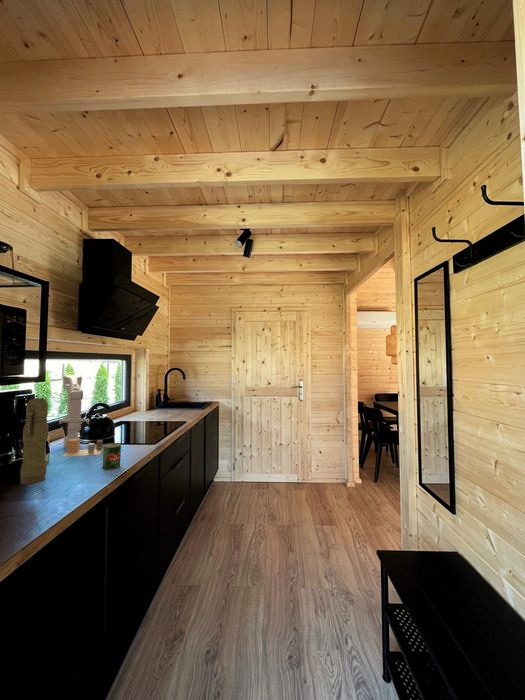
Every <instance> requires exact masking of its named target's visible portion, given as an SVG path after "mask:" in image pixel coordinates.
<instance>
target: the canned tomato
mask: <svg viewBox="0 0 525 700" xmlns="http://www.w3.org/2000/svg"><path fill="white" fill-rule="evenodd" d="M102 449H103V450H102V470H103V471H114V470H117V469H120V467H121V457H122V455H121V454H122V453H121V451H122V443H120V442H110V443H109V442H108V443H106V444H103V447H102Z"/></svg>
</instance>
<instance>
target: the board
mask: <svg viewBox="0 0 525 700" xmlns="http://www.w3.org/2000/svg"><path fill="white" fill-rule="evenodd" d="M101 453H103V448H102V450H96V448H94V453H91V454H88V449H80V450H79V451H78V452H77V453H67V451H66V452H65V453H64V454H63V455H62V457H64V458H65V457H79V456H81V457H82V456H92V455H93V456H94V455H95V456H96V455H101Z"/></svg>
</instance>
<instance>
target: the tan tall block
mask: <svg viewBox="0 0 525 700" xmlns="http://www.w3.org/2000/svg"><path fill="white" fill-rule="evenodd" d="M25 411H26V412H25V418H26V420H25V424H24V426H23V429H22V441H23V449H22V451H23V452H22V464H21V466H20V472H19V473H20V477H19V478H20V483H21V484H20V485H22V484H24V486H30V485H31V484H32V485H37V484H40V483H42V481H43V482H45V480H46V474H47V464H48V463H46V461H45V455H46V441H47V439H48V435H49V424H48V419H47V418H48V411H49V405H48V400H47V398H46V399H45V398H43V397H41V398H40V397H38V398H36V397H35V398H31V399H29V400H28V402H27V404H26V408H25ZM36 483H37V484H36ZM32 485H31V486H32Z"/></svg>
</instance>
